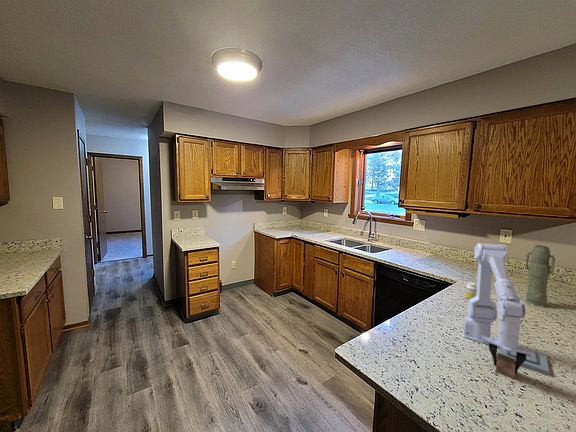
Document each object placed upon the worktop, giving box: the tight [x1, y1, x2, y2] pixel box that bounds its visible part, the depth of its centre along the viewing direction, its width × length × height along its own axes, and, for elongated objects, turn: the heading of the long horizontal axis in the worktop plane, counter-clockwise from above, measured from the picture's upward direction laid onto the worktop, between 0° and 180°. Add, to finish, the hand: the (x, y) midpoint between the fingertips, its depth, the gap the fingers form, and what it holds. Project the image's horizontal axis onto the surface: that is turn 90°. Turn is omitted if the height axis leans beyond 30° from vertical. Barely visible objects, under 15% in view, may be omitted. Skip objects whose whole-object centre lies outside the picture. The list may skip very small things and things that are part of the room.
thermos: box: [525, 244, 556, 307], centre depth 151 cm, size 9×12×35 cm
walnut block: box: [495, 352, 516, 380], centre depth 93 cm, size 5×5×5 cm
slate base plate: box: [498, 347, 550, 377], centre depth 101 cm, size 14×14×2 cm
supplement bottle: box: [465, 281, 477, 301], centre depth 158 cm, size 6×6×10 cm
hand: (505, 368), depth 93 cm, fingers closed on walnut block, 5 cm apart
